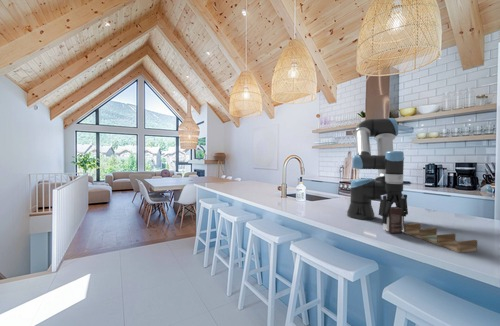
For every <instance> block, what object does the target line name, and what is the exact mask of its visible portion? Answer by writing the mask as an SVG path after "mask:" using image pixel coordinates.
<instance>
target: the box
mask: <svg viewBox="0 0 500 326" xmlns="http://www.w3.org/2000/svg"><path fill="white" fill-rule="evenodd" d="M388 217H389V231H386V230H384V231H385V232H387V233H389V234H402V232H403V230H402V208H399V207H396V206H391V208H390V211H389V214H388Z"/></svg>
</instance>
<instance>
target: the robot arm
mask: <svg viewBox="0 0 500 326" xmlns="http://www.w3.org/2000/svg"><path fill="white" fill-rule="evenodd" d="M398 134H399V124H398V121H397V119H395V118H393V117H390V118H389V117H385V118H368V119H365V120H362V121H361V122H360V123H359V124H357V125H356V126H355V129H354V131H353V137H354V138H355V147H356V148H355V155H353V156H352V168H353V169H355V170H356V169H357V170H377V176H376V177H375V179H374V180H373V179H372V178H370V177H366V178H364V177H363V178H356V179H352V180H351V181H350V187H349V188H350V197H349V199H350V200H349V201H350V203H349V206H348V210H347V211H346V213H347V214H346V215H347V217H349V218H352V219H358V220H374V219H375V212H374V209H373V206H372V205H373V204H372V201H378V202H379V201H380V203H379V208H378V209H379V210H378V216H381V217H382V218H381V219H382V221H381V223H382V228H383V229H382V230H383V231H385V230H386V231H389V217H388V214H389V211H390V208H391V207H393V206H392V205H393V204H395V207H399V208H402V231H404V222H405V217H407V215H409V211H408V199H407V198H408V195H407V194H404V193H402V192H403V191H404V184H403V183H404V166H405V165H404V162H405V155H404V151H402V150H394V140H395V139H396V137H397V136H399V135H398ZM373 137H374V140H375V142H377V143H376V144H377V146H376V147H377V151H376V152H377V155H375V154H374V155H372V151H371V144H370V143H371V141H370V138H373ZM386 231H385V232H386Z"/></svg>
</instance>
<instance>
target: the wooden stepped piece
mask: <svg viewBox="0 0 500 326" xmlns="http://www.w3.org/2000/svg"><path fill="white" fill-rule="evenodd" d="M421 224H422V223H420V222H418V223H417V222H416V223H406V224H405V223H403V233H404V234H407V235H410V236H413V237H416V238H417V239H421V240H423V241H426V242H429V243H432V244H434V245H437V246H440V247H443V248H446V249H448V250H450V251H454V252H455V253H459V254H460V253H467V252H477V251H478V240H477V239H471V240H470V239H469V240H461V241H460V240H459V241H456V233H446V234H438V228H437V227H431V228H430V227H429V228H421V227H422V226H421Z"/></svg>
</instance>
